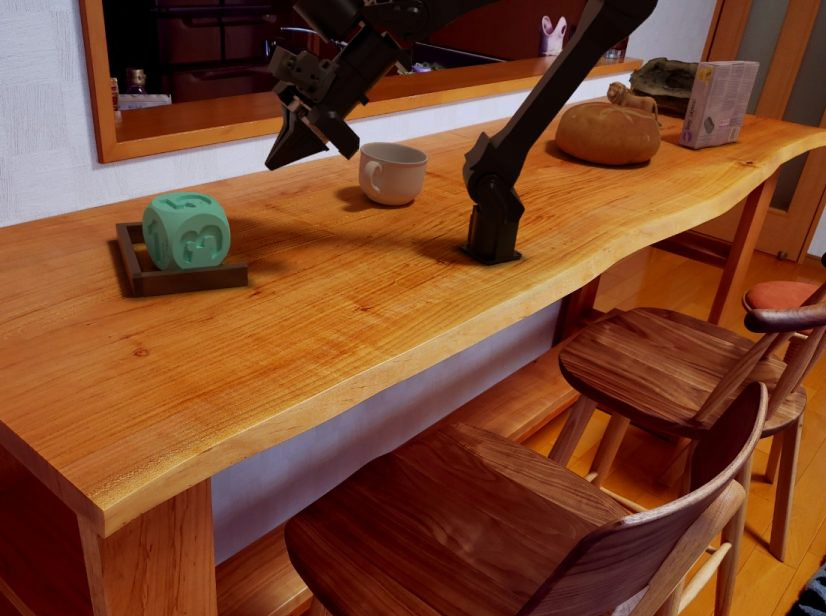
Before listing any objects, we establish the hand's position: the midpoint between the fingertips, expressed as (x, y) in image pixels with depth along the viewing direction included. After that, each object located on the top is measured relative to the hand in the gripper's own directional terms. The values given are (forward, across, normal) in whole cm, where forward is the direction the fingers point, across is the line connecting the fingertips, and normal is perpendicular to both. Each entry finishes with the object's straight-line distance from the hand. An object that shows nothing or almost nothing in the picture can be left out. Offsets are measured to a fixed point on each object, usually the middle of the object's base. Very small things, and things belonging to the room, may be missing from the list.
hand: (267, 167), depth 93 cm
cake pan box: (-71, -39, +90) cm, 121 cm away
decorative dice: (+16, +1, +1) cm, 16 cm away
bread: (-48, -35, +66) cm, 89 cm away
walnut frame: (+16, 0, 0) cm, 16 cm away
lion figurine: (-66, -59, +84) cm, 122 cm away
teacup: (-8, -16, +25) cm, 31 cm away
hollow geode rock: (-81, -67, +100) cm, 145 cm away
